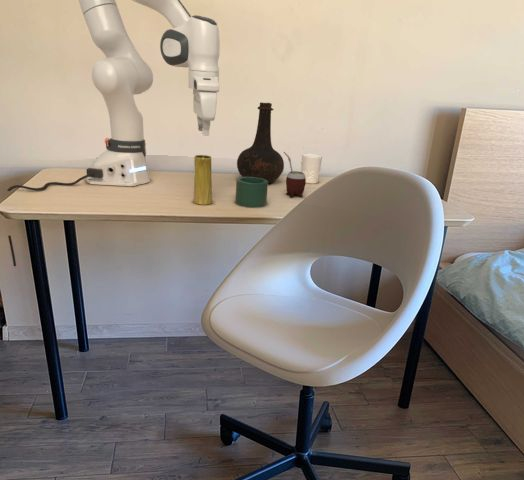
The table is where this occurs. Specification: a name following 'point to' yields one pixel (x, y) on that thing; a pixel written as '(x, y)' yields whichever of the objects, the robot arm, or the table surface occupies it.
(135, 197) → the table surface
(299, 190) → the mate gourd
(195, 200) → the vase
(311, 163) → the white cup
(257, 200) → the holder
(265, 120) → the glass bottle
